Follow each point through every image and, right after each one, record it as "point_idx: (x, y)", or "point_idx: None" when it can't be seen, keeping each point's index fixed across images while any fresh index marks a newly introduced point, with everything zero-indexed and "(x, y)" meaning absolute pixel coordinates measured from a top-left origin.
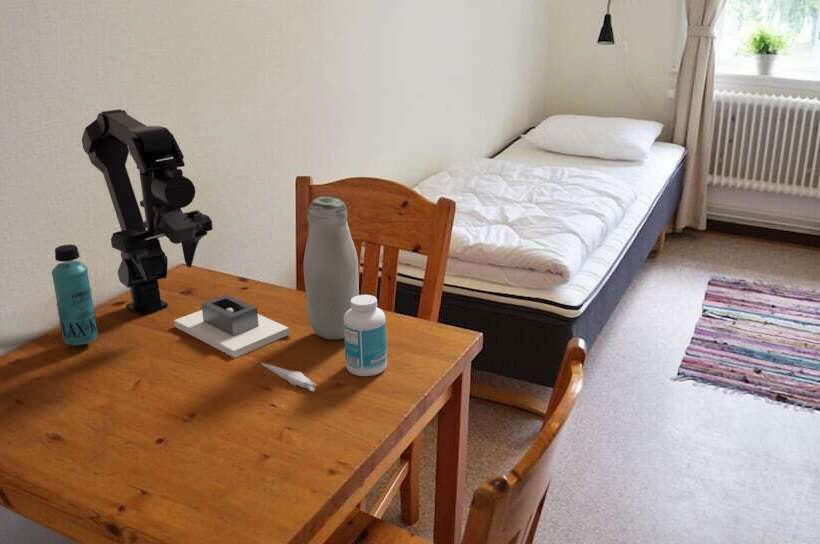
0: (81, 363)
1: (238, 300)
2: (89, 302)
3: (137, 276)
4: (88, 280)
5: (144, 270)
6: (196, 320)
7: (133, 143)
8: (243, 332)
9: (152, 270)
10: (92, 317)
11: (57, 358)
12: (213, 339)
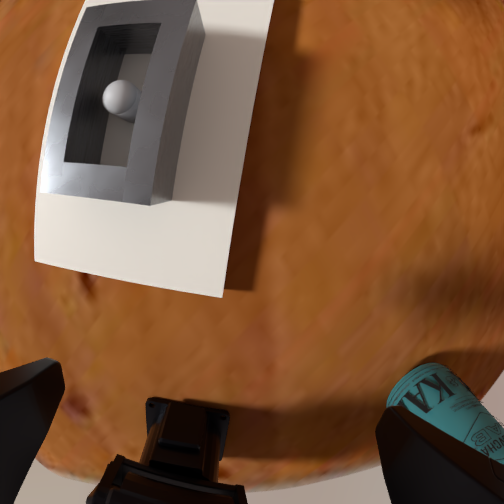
0: (470, 309)
1: (58, 102)
2: (471, 427)
3: (229, 501)
4: None
5: (464, 443)
6: (179, 229)
7: None
8: None
9: (170, 495)
10: (442, 401)
11: (462, 362)
12: (257, 66)
